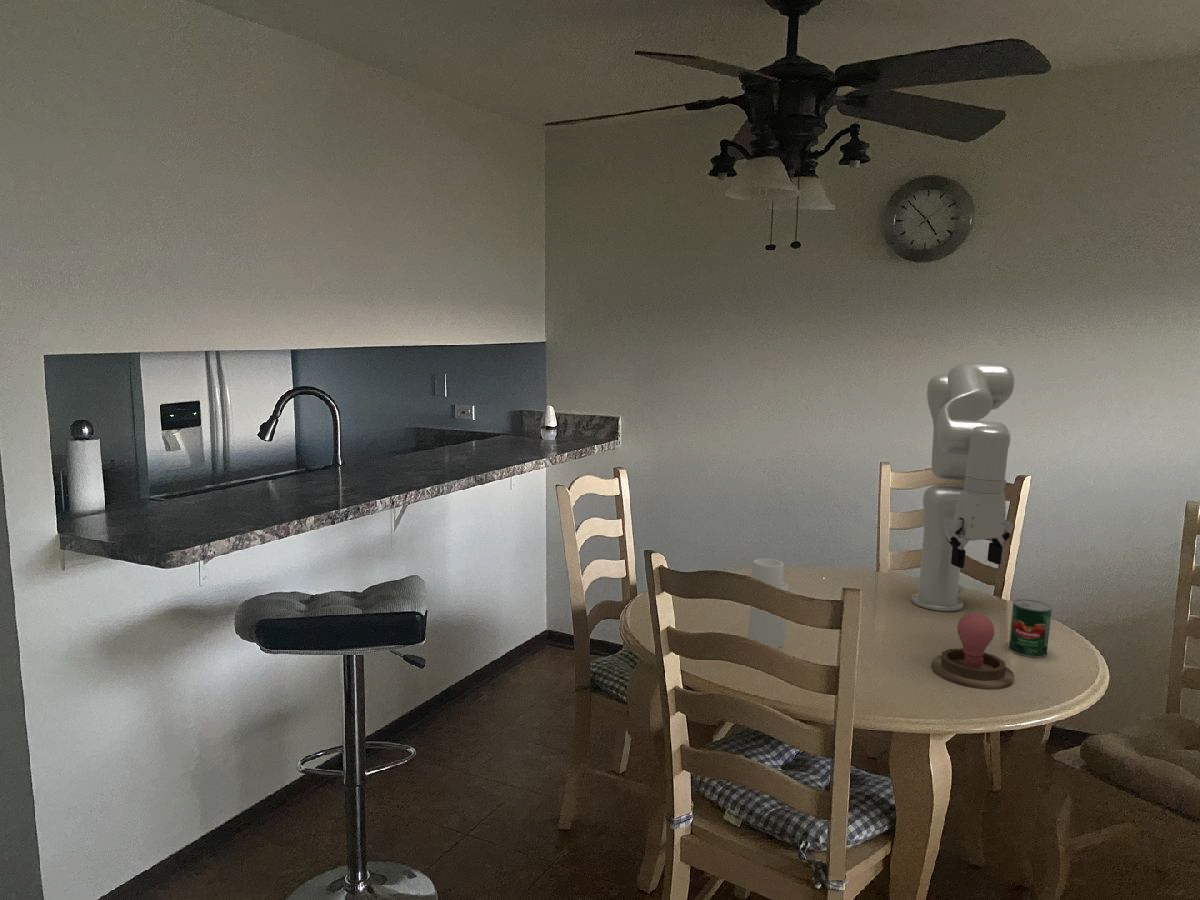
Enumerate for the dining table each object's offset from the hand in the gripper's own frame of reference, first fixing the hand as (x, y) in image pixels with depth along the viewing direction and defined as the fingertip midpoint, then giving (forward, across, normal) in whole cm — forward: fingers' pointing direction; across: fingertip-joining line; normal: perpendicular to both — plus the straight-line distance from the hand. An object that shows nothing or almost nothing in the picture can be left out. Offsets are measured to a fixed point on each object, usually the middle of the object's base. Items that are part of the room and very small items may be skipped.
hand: (975, 564), depth 186 cm
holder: (+22, +3, +5) cm, 23 cm away
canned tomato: (+23, -19, -2) cm, 29 cm away
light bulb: (+21, +3, +5) cm, 22 cm away
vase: (+22, +38, -19) cm, 48 cm away
